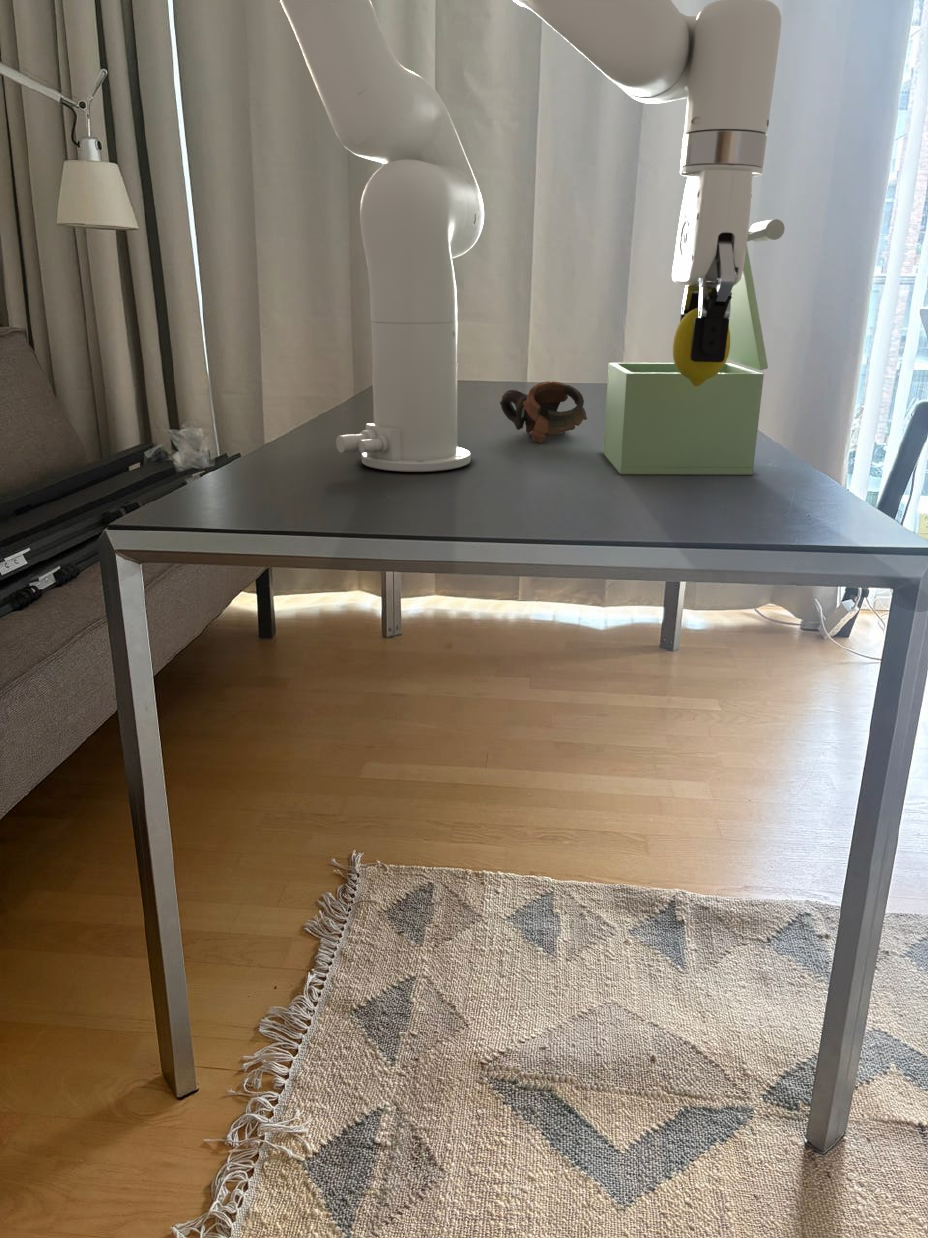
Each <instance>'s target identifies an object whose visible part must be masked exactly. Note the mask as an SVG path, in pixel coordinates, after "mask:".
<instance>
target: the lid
mask: <svg viewBox="0 0 928 1238" xmlns="http://www.w3.org/2000/svg"><path fill="white" fill-rule="evenodd" d="M784 233H785V224H784V222H783V221H782V220H781V219H778V218H773V219H767V220H763V221H758V222H754V223H753V224H752V225H751V226H749V229H748V239H747V243H748V242H751V241H753V242H755V243H759V242H768V241H777V240H780V239H781V238H782V236H783V235H784ZM731 293H732V295H731V296H732V299H731V310H730V317H729V330H730V350H729V355H728V358H727V360H729V361H731V362H734V363H737V364H740V365H743V366H746V367H749V368H752V369H756V370H758V371H764V370H767V369H769V366H768V360H767V353H766V347H765V342H764V336H763V329H762V325H761V324H762V323H761V318H760V313H759V305H758V300H757V295H756V294H757V293H756V289H755V284H754V278H753V271H752V266H751V260H750V254H749V249H748V246H747V247H746V255H745V262H744V268H743V273H742V277H741V280H740V281H739V282H738V283H737V284H736V285H734V286H733V288H732V291H731Z"/></svg>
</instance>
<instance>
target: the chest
mask: <svg viewBox="0 0 928 1238" xmlns="http://www.w3.org/2000/svg"><path fill="white" fill-rule="evenodd" d="M607 368H608V369H607V382H606V383H607V387H606V401H605V402H606V404H605V421H604V436H603V437H604V439H603V455H604V456H605V457H606V459H607V460H608V461H609V462H610V463H611V465H612V466H613V467H614V468H615V470H616V471H617V472H618V473H619V475H696V476H697V475H701V476H702V475H708V476H709V475H710V476H711V475H712V476H714V475H716V476H717V475H725V476H727V475H728V476H729V475H731V476H734V475H735V476H736V475H737V476H738V475H739V476H742V475H743V476H744V475H745V476H746V475H747V476H748V475H749V476H750V475H753V474H754V465H755V464H754V463H755V455H756V448H757V439H758V430H759V421H760V412H761V404H762V395H763V385H764V377H765V374H764V373H762V372H759V371H757V370H754V369H749V368H747V367H744V366H741V365H737V364H734V363H731V362H726V363H725V365H724V366H723V368H722V369H721V370H720V371H719V372H718V373H717V374H716V375H715V376H713V377H711V378H709V379H707V380H705V381H704V382H703V383H702V384H701V385H700V386H697V387H696V386H694V385H693V384H692V383H691V381H690V380H689V379H688V378H687V377H685V376H683V375H682V374H681V373H680V372H679V371H678V369H677V367H676V365H675V363H674V362H608V366H607Z"/></svg>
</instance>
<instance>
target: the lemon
mask: <svg viewBox="0 0 928 1238" xmlns="http://www.w3.org/2000/svg"><path fill="white" fill-rule="evenodd" d="M684 315H685V316H684V317H683V318H682V320H681V321H680V320H679V323H678V326H677V327H676V330H675V334H674V338H673V342H672V357H673V363H675V365H676V367H677V369H678V371H679V372H680V373H681V374H682V375H683V376H685V377H687V378H688V379H689V380H690V381H691V383H692V384H693V385H694V386H696V387H697V386H700V385H701V384H702V383H703V382H704V381H705V380H707V379H709V378H711V377H713V376H715V375H716V374H717V373H718V372H719V371H720V370H721V369H722V368H723V366H724V365H725V363H727V360H728V355H729V350H730V330H729V326H728V334H727V342H726V351H725V358H724V361H723V362H695V361H692V360H691V358H690V355H691V346H692V337H693V328H694V319H695V318H699V308H696V309H694V310H692V311H690V312H689V313H687V314H684Z"/></svg>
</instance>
